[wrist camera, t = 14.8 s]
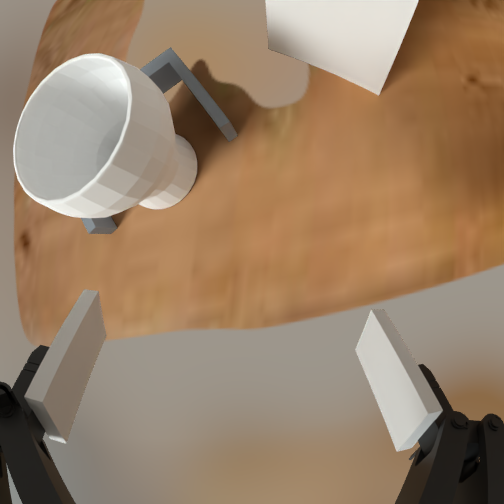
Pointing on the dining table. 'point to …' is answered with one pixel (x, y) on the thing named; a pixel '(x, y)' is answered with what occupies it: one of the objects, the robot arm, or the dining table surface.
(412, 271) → the dining table surface
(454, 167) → the dining table surface
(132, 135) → the cup
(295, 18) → the milk
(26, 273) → the dining table surface
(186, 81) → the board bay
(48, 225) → the dining table surface
